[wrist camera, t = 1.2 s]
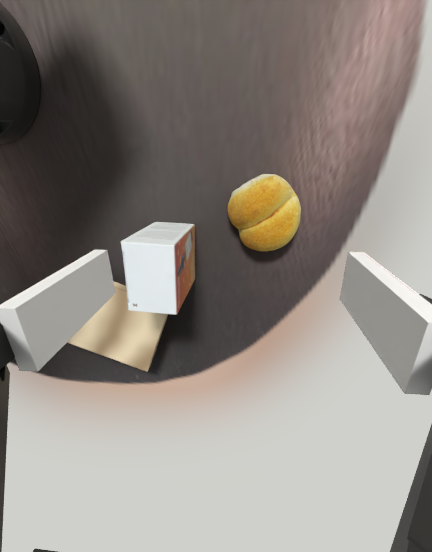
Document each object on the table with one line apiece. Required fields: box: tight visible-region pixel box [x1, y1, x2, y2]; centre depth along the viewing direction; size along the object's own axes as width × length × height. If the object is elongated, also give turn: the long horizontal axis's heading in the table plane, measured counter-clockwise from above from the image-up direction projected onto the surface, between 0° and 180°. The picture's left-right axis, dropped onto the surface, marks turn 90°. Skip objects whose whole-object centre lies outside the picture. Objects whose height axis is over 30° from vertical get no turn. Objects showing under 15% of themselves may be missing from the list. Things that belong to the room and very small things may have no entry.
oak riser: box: [67, 281, 168, 372], centre depth 40 cm, size 14×12×4 cm
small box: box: [121, 222, 195, 315], centre depth 32 cm, size 8×6×10 cm
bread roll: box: [228, 174, 301, 251], centre depth 32 cm, size 8×9×4 cm
